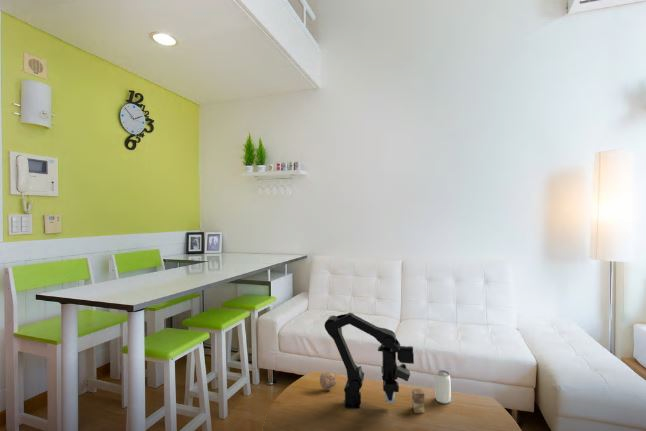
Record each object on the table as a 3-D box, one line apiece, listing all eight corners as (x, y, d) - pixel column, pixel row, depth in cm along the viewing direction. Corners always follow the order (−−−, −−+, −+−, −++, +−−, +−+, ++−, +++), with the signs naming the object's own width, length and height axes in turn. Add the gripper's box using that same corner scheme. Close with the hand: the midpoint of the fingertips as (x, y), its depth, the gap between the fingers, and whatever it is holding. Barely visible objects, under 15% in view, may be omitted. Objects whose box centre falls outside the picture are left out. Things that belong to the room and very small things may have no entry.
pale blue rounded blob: (385, 402, 144) (385, 393, 144) (385, 397, 148) (384, 388, 148) (395, 403, 143) (395, 393, 143) (394, 398, 147) (394, 388, 147)
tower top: (415, 403, 142) (414, 393, 142) (412, 398, 146) (412, 388, 146) (424, 403, 142) (424, 393, 142) (421, 398, 146) (421, 388, 146)
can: (452, 404, 148) (451, 377, 148) (436, 403, 149) (435, 375, 149) (449, 396, 154) (449, 370, 154) (434, 395, 155) (434, 369, 155)
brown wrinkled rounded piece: (336, 387, 165) (336, 370, 165) (335, 393, 158) (335, 376, 158) (320, 386, 165) (320, 370, 165) (319, 393, 159) (319, 376, 159)
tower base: (414, 412, 142) (414, 402, 142) (413, 407, 146) (412, 397, 146) (424, 413, 142) (424, 403, 142) (422, 407, 146) (422, 398, 146)
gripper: (411, 372, 135) (412, 411, 135) (405, 353, 154) (406, 387, 154) (383, 370, 137) (383, 409, 137) (381, 352, 155) (381, 386, 155)
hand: (389, 397), depth 145 cm, fingers closed on pale blue rounded blob, 4 cm apart
